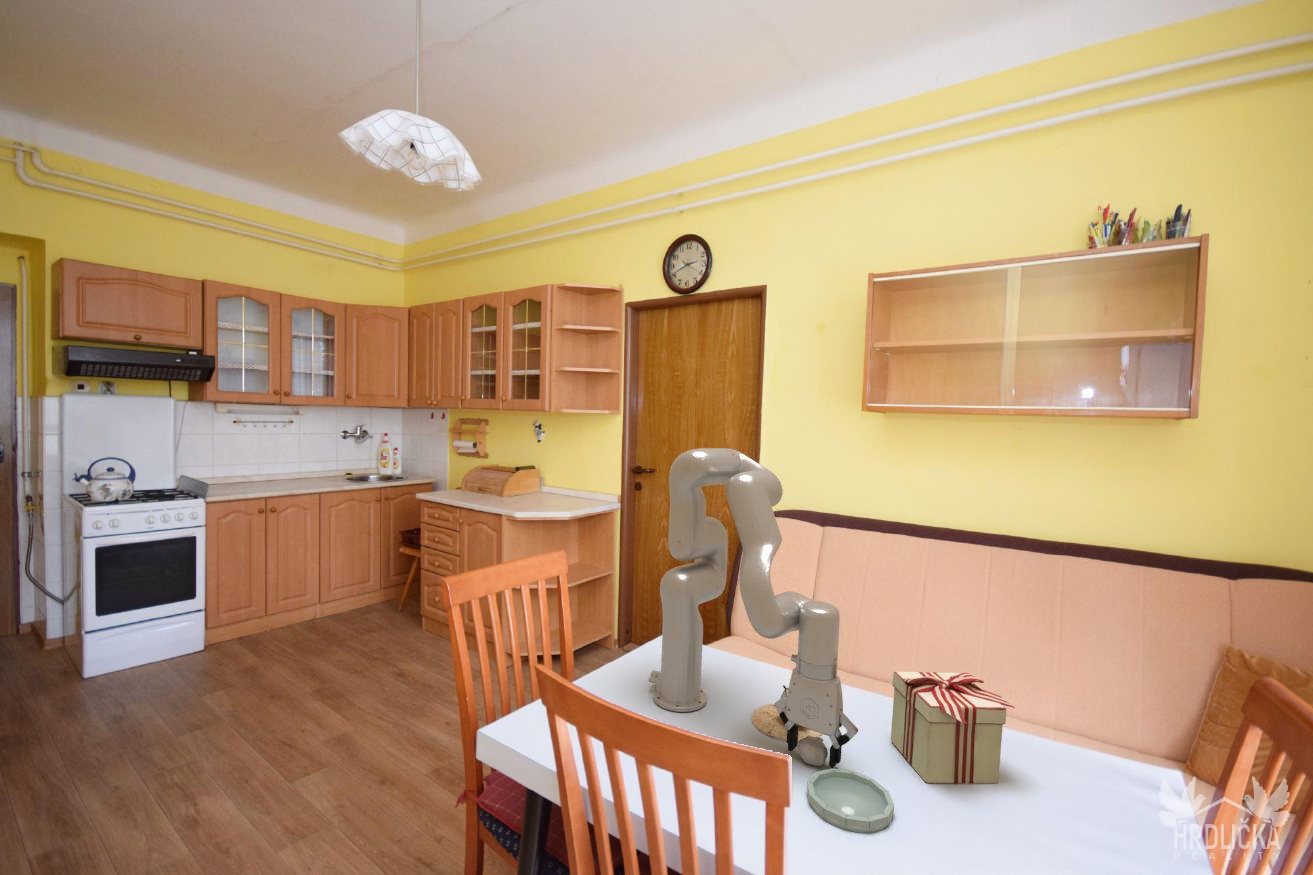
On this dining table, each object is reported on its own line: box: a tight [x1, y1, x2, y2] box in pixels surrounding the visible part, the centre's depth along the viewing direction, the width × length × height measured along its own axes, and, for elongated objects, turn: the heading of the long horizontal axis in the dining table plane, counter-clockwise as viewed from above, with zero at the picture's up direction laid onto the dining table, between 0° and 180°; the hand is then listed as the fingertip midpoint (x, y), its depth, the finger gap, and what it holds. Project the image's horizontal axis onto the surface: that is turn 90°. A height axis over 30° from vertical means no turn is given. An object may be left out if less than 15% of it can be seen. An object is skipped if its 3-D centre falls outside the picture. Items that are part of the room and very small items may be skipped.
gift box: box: [890, 671, 1016, 785], centre depth 113 cm, size 17×18×17 cm
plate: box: [806, 767, 895, 834], centre depth 100 cm, size 14×14×2 cm
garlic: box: [797, 736, 829, 767], centre depth 113 cm, size 6×5×5 cm
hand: (812, 755), depth 113 cm, fingers open, 7 cm apart
